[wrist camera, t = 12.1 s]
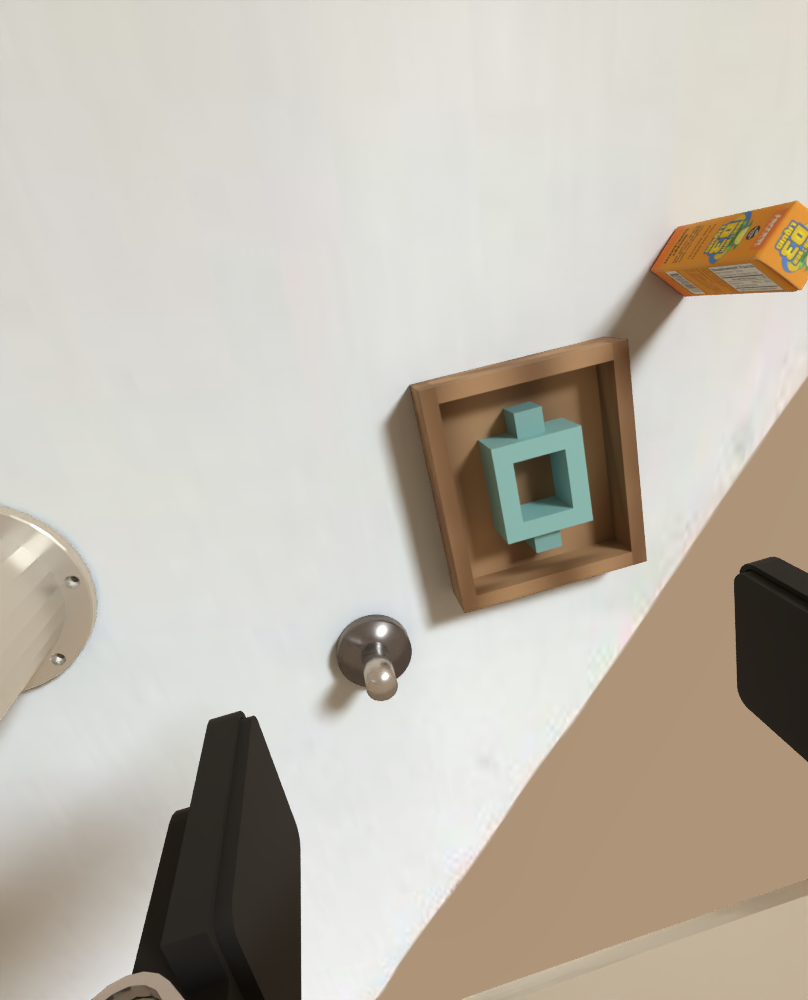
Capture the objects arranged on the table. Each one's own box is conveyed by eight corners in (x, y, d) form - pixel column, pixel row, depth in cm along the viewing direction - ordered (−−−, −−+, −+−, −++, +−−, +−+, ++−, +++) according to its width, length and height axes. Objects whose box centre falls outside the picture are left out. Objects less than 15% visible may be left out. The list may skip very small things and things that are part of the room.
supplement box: (675, 220, 37) (803, 192, 28) (713, 252, 38) (849, 235, 29) (643, 270, 38) (758, 258, 28) (682, 299, 39) (805, 297, 29)
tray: (453, 592, 42) (464, 613, 40) (409, 384, 37) (418, 391, 35) (624, 544, 44) (646, 561, 41) (603, 336, 39) (627, 339, 36)
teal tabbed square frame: (473, 416, 38) (486, 424, 36) (558, 393, 39) (577, 400, 36) (498, 549, 41) (512, 566, 39) (577, 527, 42) (596, 542, 39)
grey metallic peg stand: (346, 687, 43) (352, 731, 39) (328, 626, 42) (332, 665, 37) (415, 667, 44) (429, 708, 39) (400, 606, 42) (412, 642, 38)
